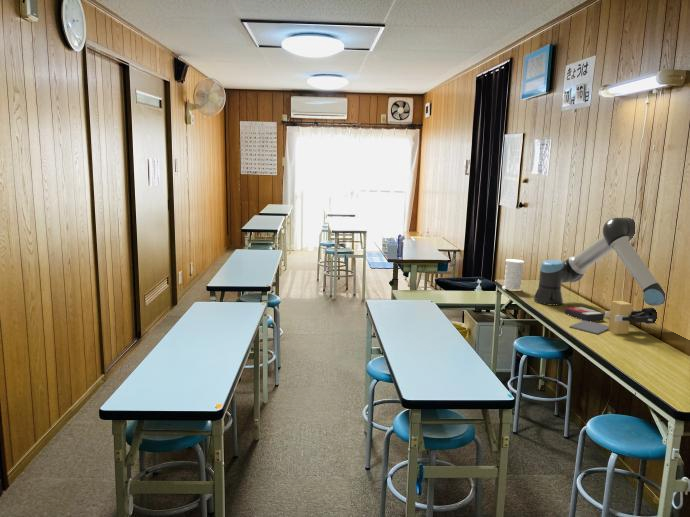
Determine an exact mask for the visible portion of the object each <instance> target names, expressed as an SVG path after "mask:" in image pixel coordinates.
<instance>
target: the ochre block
mask: <svg viewBox="0 0 690 517" xmlns="http://www.w3.org/2000/svg"><path fill="white" fill-rule="evenodd" d="M631 310H633V304H632V303H629V302H628V301H627V302H626V301H624V300H611V305H610V310H609V311H610V317H609V319H608V320H609V321H608V325H607V326H608V330H607V331H610V332H611V333H614V334H616V335H626V334H627V335H628V334H629V330H630V323H631V322H629V321H621V322H615V315H628V316H629V315H631Z"/></svg>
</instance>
